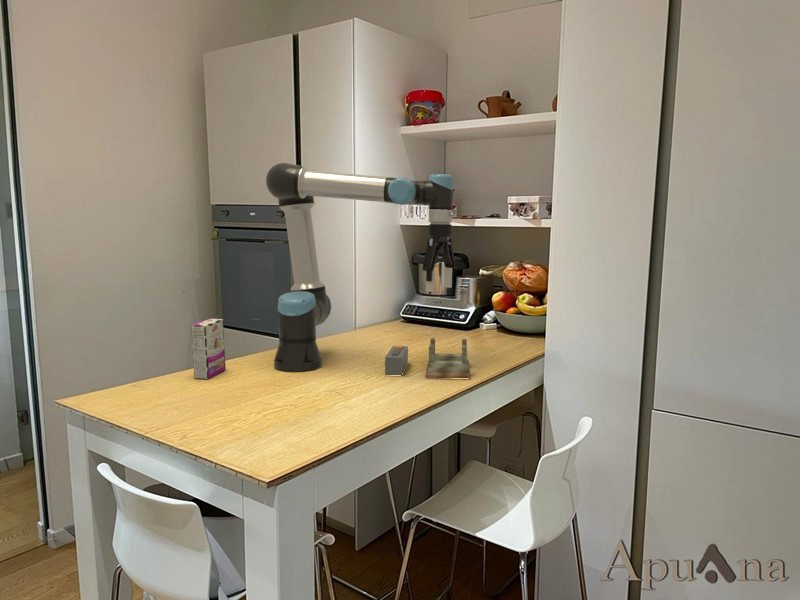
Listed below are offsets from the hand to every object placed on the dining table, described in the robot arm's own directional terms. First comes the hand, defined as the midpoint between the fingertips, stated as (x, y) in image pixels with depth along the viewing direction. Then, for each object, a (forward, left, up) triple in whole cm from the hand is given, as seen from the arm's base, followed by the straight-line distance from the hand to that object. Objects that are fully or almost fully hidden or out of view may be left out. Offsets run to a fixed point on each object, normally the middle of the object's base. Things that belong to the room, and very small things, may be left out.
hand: (439, 289), depth 201 cm
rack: (+3, -11, -24) cm, 27 cm away
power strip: (-13, -11, -25) cm, 30 cm away
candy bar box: (-69, -23, -24) cm, 76 cm away
